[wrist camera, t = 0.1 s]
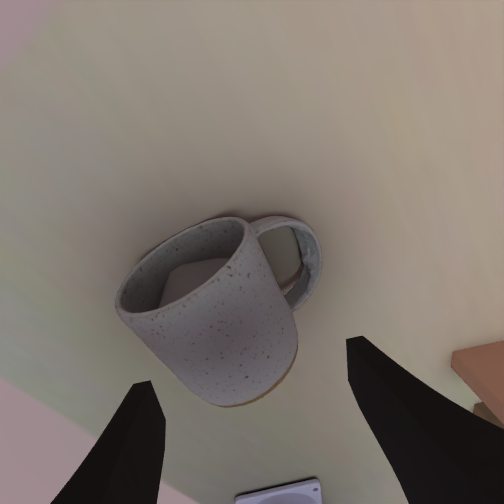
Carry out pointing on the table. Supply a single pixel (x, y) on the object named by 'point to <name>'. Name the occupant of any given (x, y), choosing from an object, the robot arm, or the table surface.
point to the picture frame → (483, 373)
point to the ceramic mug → (220, 307)
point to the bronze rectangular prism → (486, 414)
